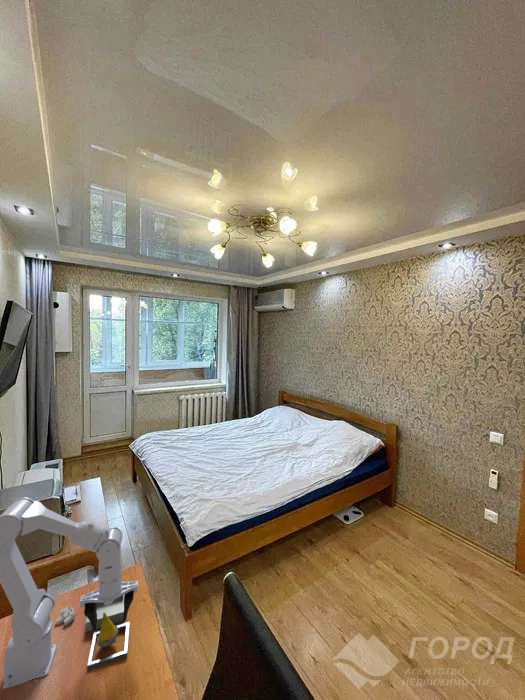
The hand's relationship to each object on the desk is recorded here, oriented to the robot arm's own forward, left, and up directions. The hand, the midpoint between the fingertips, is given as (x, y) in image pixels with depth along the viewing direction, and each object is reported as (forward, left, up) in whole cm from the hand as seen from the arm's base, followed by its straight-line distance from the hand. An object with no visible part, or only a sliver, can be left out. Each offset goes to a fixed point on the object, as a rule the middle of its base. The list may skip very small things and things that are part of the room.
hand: (110, 622), depth 83 cm
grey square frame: (0, 0, -7) cm, 7 cm away
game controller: (-15, +13, -10) cm, 22 cm away
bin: (-2, +12, -7) cm, 14 cm away
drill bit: (0, 0, -8) cm, 8 cm away
